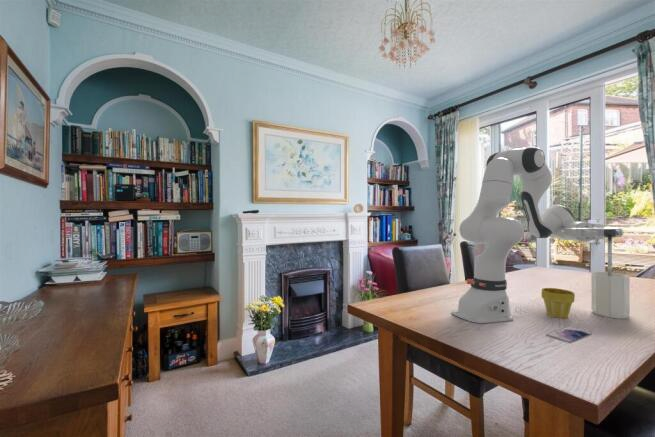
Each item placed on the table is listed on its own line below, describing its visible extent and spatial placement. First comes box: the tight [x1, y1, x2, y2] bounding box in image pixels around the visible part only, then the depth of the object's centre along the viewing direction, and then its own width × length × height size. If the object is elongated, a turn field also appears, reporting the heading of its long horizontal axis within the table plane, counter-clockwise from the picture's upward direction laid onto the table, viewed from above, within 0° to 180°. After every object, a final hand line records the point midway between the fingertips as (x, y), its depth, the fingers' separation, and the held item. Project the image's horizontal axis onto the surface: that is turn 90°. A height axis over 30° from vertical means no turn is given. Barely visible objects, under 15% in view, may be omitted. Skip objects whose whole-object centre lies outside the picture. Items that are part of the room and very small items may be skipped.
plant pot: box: [541, 287, 575, 319], centre depth 117 cm, size 10×10×10 cm
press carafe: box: [590, 271, 631, 320], centre depth 119 cm, size 13×10×16 cm
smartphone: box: [545, 326, 593, 344], centre depth 98 cm, size 7×1×15 cm
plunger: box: [604, 229, 617, 276], centre depth 118 cm, size 8×8×22 cm
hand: (608, 233), depth 119 cm, fingers open, 8 cm apart
